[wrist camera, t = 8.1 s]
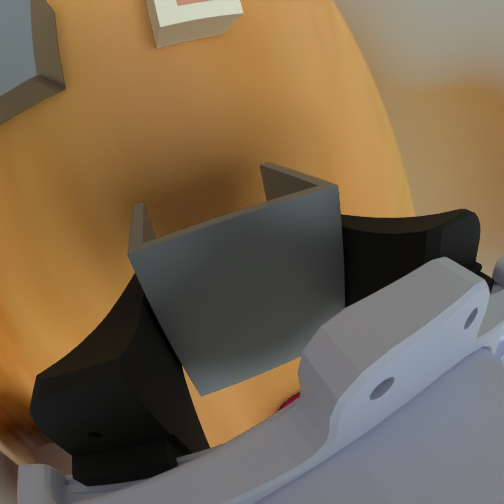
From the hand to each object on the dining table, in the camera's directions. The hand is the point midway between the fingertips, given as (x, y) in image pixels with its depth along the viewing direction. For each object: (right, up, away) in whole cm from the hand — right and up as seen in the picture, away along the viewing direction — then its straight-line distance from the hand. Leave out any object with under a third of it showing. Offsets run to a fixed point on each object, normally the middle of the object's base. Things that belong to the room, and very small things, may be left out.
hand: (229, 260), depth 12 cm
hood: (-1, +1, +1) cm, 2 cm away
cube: (-3, +14, +1) cm, 15 cm away
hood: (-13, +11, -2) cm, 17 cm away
